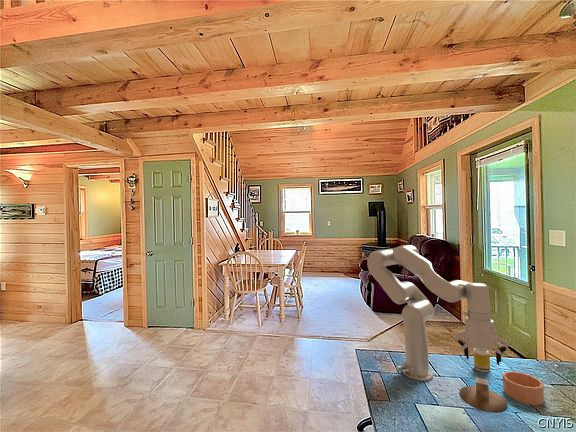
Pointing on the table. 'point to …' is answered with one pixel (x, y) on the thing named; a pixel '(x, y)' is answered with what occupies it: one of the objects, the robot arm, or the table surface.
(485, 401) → the walnut lid
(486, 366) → the pill bottle
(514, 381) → the terracotta bowl
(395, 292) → the robot arm
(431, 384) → the table surface
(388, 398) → the table surface
